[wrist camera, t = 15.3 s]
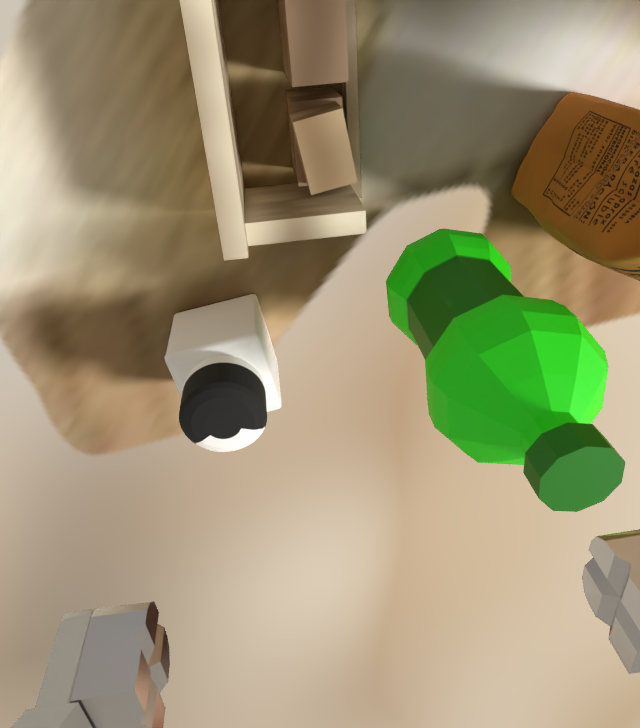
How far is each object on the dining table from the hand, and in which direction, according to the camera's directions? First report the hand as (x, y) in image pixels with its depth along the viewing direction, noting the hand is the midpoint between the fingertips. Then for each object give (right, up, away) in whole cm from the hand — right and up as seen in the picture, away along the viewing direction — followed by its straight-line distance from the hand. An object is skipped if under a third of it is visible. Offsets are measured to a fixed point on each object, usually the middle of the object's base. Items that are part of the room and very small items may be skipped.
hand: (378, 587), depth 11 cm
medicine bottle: (-9, +6, +39) cm, 41 cm away
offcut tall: (-2, +27, +27) cm, 38 cm away
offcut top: (-1, +18, +27) cm, 32 cm away
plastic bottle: (+9, +12, +38) cm, 41 cm away
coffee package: (+20, +19, +35) cm, 45 cm away
